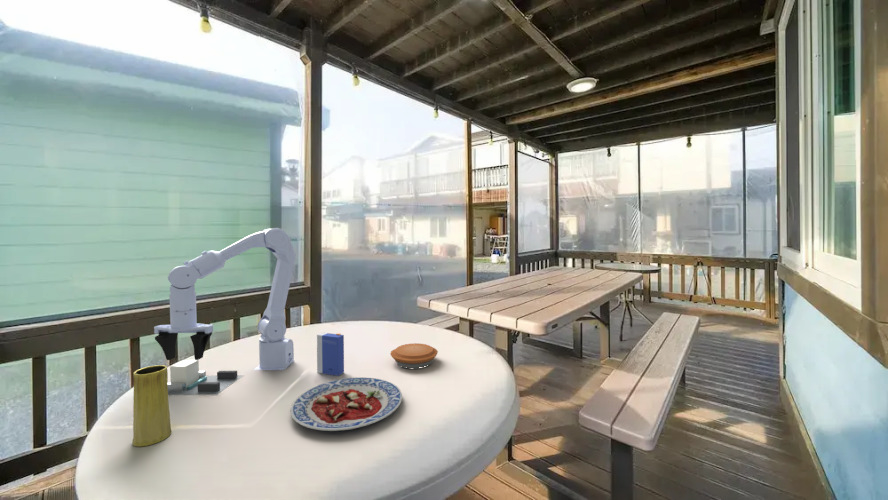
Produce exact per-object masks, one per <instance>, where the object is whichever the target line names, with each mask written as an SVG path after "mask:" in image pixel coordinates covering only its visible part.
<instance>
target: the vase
mask: <svg viewBox="0 0 888 500" xmlns="http://www.w3.org/2000/svg"><path fill="white" fill-rule="evenodd" d="M132 374H133V405H132V406H133V415H132V417H133V419H132V431H133V435H132V443H131V444H132V446H134V447H139V448H140V447H148V446H151V445H155V444H157V443H161V442H162V441H165V440H166V439H167V438H168V437H170V436H171V434H172V424H171V414H170V403H169V395H168V383H169V382H168V381H169V379H168V376H169V375H168V374H169V372H168V366H167V365H164V364H158V365H150V366H145V367H142V368H140V369H136V370H134V372H133V373H132Z"/></svg>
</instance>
